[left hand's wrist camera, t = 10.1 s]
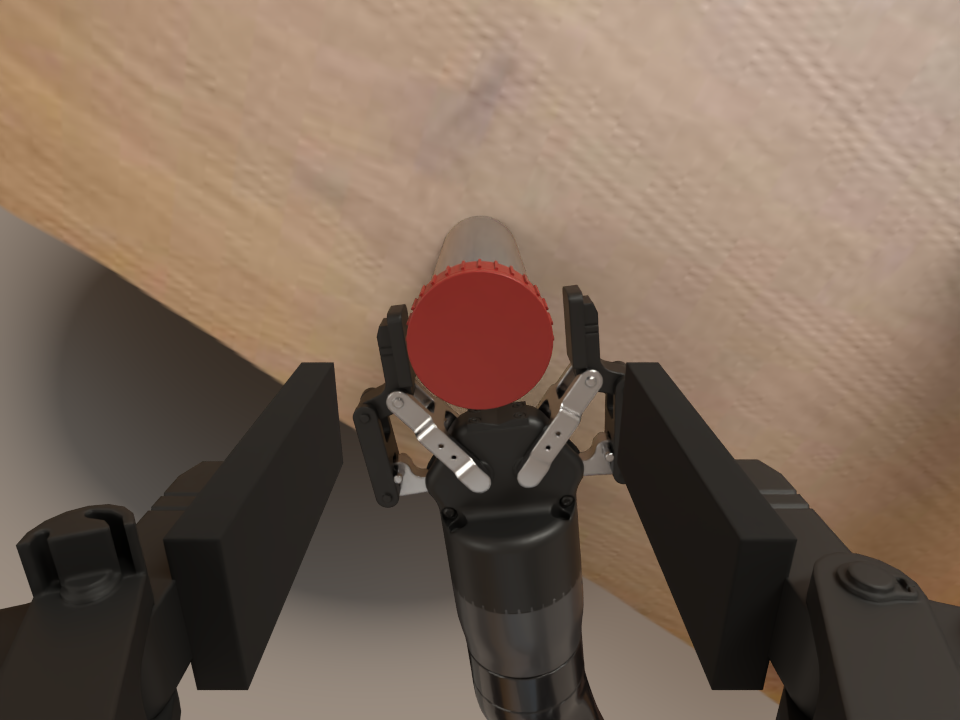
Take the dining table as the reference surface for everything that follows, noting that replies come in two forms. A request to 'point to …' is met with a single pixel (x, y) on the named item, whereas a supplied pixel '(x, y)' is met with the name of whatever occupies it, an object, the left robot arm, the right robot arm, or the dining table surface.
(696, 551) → the left robot arm
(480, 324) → the lid
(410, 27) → the dining table surface
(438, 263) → the grey bottle
